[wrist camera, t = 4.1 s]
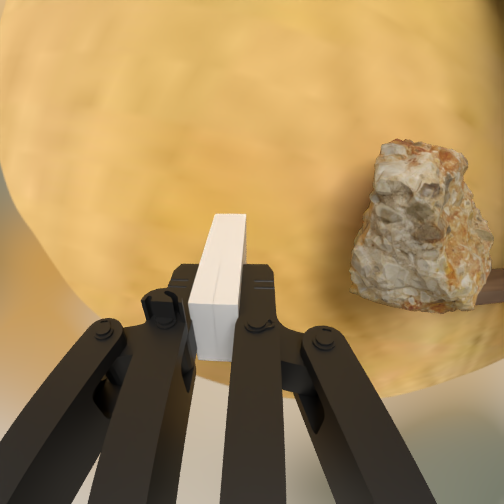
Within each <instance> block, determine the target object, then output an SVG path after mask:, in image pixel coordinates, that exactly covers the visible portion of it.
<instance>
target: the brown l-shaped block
mask: <svg viewBox="0 0 504 504" xmlns="http://www.w3.org/2000/svg"><path fill="white" fill-rule="evenodd" d="M500 302H504V269H491V272H490V273H489V275H488V277H487V280H486V284H484V285H483V288H482V290H480V292H479V294H478V296H477V300H476V303H475V305H482V304H491V303H500Z"/></svg>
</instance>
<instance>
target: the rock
mask: <svg viewBox="0 0 504 504" xmlns="http://www.w3.org/2000/svg"><path fill="white" fill-rule="evenodd" d="M467 168H468V162H467V159H466V158H465V157H464V155H463V154H462V153H458V152H456V151H454V150H453V149H446V148H443V147H439V146H432V145H430V144H426V143H423V142H417V143H413V142H412V141H411V140H406V139H405V140H404V141H402V140H399V139H395V140H393V141H391V142H389V143H387V144H382V146H381V151H380V155H379V156H378V157H377V159H376V163H375V173H374V180H373V189H374V190H373V191H372V192H371V194H370V200H371V202H370V205H369V207H368V209H367V210H366V211H365V212H364V214H363V221H364V223H363V226H362V228H361V229H360V230H359V232H358V234H357V236H356V238H355V239H354V246H355V247H354V249H353V250H352V258H351V268H350V270H349V272H350V273H351V280H352V281H353V284H352V286H351V288H350V290H349V291H350V293H354V294H357V295H359V296H361V297H362V298H365V299H368V300H371V301H373V302H376V303H380V304H384V305H388V306H391V307H395V308H402V309H406V310H410V311H422V312H430V313H439V314H443V313H446V312H448V311H452V312H453V311H455V310H456V309H459V310H461V311H469V310H474V307H475V303H476V300H477V296H478V294H479V292H480V290H482V288H483V285H484V284H486V280H487V277H488V275H489V273H490V272H491V257H490V253H489V250H490V248H491V247H492V245H493V242H494V237H493V235H492V233H491V231H490V230H489V227H488V224H487V221H486V220H484V219H483V218H482V216H481V213H480V210H479V209H478V208H476V207H475V203H474V202H473V200H472V199H473V194H472V192H471V190H469V188H468V186H467V184H466V183H465V182H464V181H463V175H464V173H465V172H466V170H467Z"/></svg>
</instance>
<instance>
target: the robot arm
mask: <svg viewBox="0 0 504 504" xmlns="http://www.w3.org/2000/svg"><path fill="white" fill-rule="evenodd" d="M141 303H142V307H143V310H144V313H145V317H146V322H145V323H144V324H141V325H137V326H131V327H125V328H123V326H122V325H121V323H120V322H119V321H117V320H116V319H112V318H105V319H100V320H98V321H96V322H94V323H93V324H92V325H91V326H90V327H89V328H88V329H87V330H86V331H85V332H84V334H83V335H82V336H81V337H80V338H79V340H78V341H77V342H76V343H75V344H74V345H73V346H72V348H71V349H70V350H69V351H68V352H67V354H66V355H65V356H64V357H63V359H62V360H61V361H60V363H59V364H58V365H57V366H56V367H55V368H54V370H53V371H52V372H51V373H50V375H49V376H48V377H47V379H46V380H45V381H44V382H43V384H42V385H41V386H40V388H39V389H38V390H37V391H36V393H35V394H34V395H33V397H32V398H31V399H30V401H29V402H28V403H27V405H26V406H25V407H24V409H23V410H22V411H21V413H20V414H19V416H18V417H17V418H16V420H15V421H14V423H13V424H12V425H11V427H10V428H9V430H8V431H7V433H6V434H5V435H4V437H3V438H2V440H1V441H0V504H71V503H72V502H73V500H74V498H75V496H76V494H77V493H78V491H79V489H80V487H81V486H82V484H83V482H84V480H85V479H86V477H87V475H88V473H89V472H90V470H91V468H92V466H93V465H94V463H95V461H96V460H97V458H98V456H99V454H100V453H101V454H100V457H99V461H98V465H97V468H96V472H95V476H94V480H93V483H92V487H91V492H90V496H89V500H88V504H176V499H177V491H178V484H179V477H180V470H181V463H182V456H183V450H184V443H185V437H186V430H187V424H188V418H189V412H190V405H191V400H192V394H193V388H194V382H195V377H196V365H195V358H196V353H197V356H198V360H208V361H229V362H232V363H231V374H230V385H229V396H228V409H227V420H226V431H225V443H224V455H223V468H222V481H221V493H220V504H286V478H285V477H286V475H285V447H284V446H285V445H284V421H283V397H282V389H283V390H286V391H290V392H293V394H294V396H295V399H296V401H297V404H298V407H299V409H300V412H301V415H302V417H303V420H304V422H305V425H306V427H307V430H308V433H309V435H310V438H311V441H312V443H313V445H314V448H315V451H316V453H317V456H318V458H319V461H320V464H321V466H322V469H323V471H324V474H325V476H326V479H327V481H328V484H329V487H330V489H331V492H332V494H333V496H334V499H335V502H336V504H437V503H436V501H435V499H434V497H433V495H432V493H431V491H430V489H429V487H428V485H427V483H426V481H425V480H424V478H423V476H422V474H421V472H420V470H419V468H418V466H417V464H416V462H415V460H414V458H413V457H412V455H411V453H410V451H409V449H408V448H407V445H406V444H405V442H404V440H403V438H402V436H401V434H400V433H399V431H398V429H397V428H396V426H395V424H394V422H393V420H392V418H391V416H390V415H389V413H388V411H387V410H386V408H385V406H384V404H383V402H382V400H381V399H380V397H379V395H378V393H377V392H376V390H375V388H374V387H373V385H372V383H371V381H370V380H369V378H368V376H367V374H366V373H365V371H364V369H363V368H362V366H361V364H360V362H359V361H358V359H357V357H356V356H355V354H354V352H353V351H352V349H351V347H350V346H349V344H348V342H347V341H346V339H345V337H344V336H343V335H342V334H341V333H340V332H339V331H338V330H336V329H334V328H332V327H328V326H315V327H313V328H310V329H308V330H307V331H306V332H305V333H300V332H296V331H293V330H290V329H288V328H286V327H284V326H283V325H282V324H281V323H280V322H279V321H278V319H277V316H276V304H275V289H274V273H273V271H272V269H271V268H270V267H269V265H268V264H246V214H215V216H214V219H213V222H212V225H211V228H210V232H209V235H208V238H207V241H206V244H205V248H204V251H203V254H202V257H201V261H200V264H181V265H180V266H179V267H178V268H177V269H175V270H174V272H173V274H172V277H171V280H170V282H169V284H168V287H167V288H161V289H156V290H153V291H150V292H149V293H147V294H146V295H144V297H143V298H142V299H141Z"/></svg>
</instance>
